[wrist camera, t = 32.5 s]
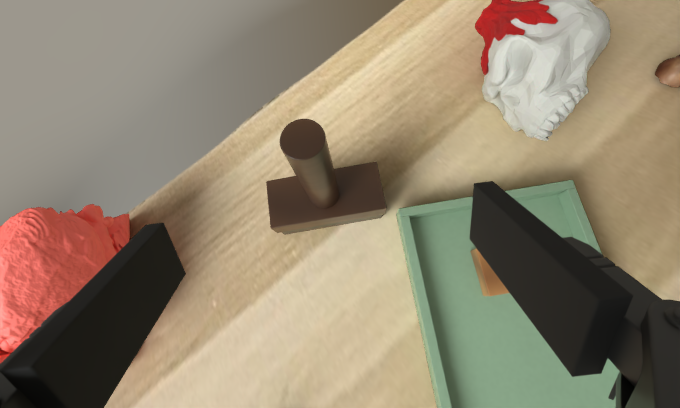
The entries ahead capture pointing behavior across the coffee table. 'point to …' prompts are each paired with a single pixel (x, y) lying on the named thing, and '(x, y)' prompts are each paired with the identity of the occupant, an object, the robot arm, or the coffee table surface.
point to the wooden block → (487, 276)
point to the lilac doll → (669, 72)
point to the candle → (539, 59)
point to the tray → (491, 311)
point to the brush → (320, 185)
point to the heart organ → (50, 264)
